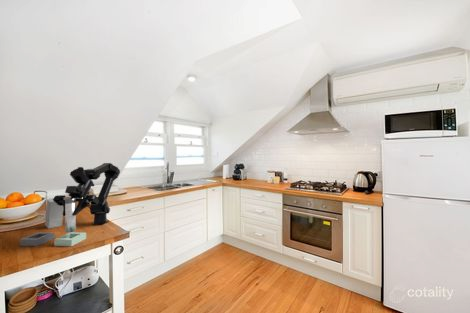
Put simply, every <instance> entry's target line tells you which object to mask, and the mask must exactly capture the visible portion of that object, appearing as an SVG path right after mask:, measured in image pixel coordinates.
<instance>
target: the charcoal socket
mask: <svg viewBox="0 0 470 313" xmlns="http://www.w3.org/2000/svg"><path fill="white" fill-rule="evenodd" d="M54 239H55V232H49V231H48V232H45V231H44V232H43V231H38V232H36V233H33V234H31V235H27V236H25V237H22V238H20V239H19V246H21V247H22V246H23V247H24V246H25V247H38V246H41V245H43V244H45V243H47V242H49V241H53V240H54Z"/></svg>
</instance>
